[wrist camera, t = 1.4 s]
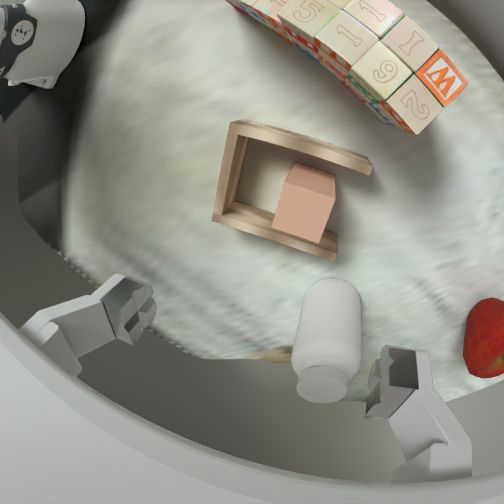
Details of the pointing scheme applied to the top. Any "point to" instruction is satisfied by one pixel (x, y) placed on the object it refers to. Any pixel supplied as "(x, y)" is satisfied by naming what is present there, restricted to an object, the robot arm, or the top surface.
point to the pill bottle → (328, 341)
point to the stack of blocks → (369, 54)
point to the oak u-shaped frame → (262, 220)
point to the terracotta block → (305, 202)
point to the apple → (485, 339)
